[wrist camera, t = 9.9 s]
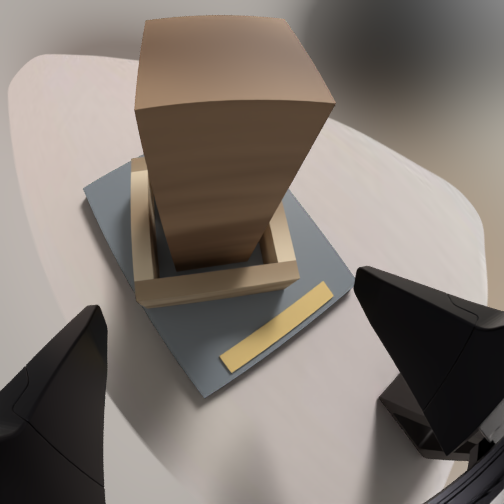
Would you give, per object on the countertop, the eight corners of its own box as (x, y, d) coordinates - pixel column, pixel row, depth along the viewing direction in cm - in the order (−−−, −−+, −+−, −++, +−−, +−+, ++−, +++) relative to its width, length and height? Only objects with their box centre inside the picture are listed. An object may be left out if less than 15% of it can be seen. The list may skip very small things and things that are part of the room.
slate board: (351, 285, 20) (359, 281, 19) (204, 395, 16) (204, 398, 15) (226, 124, 22) (227, 115, 21) (87, 195, 19) (82, 187, 17)
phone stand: (377, 395, 18) (516, 412, 6) (422, 340, 20) (550, 317, 8) (422, 457, 16) (531, 485, 5) (460, 406, 18) (566, 408, 7)
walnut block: (247, 261, 18) (335, 103, 6) (176, 271, 17) (134, 109, 5) (234, 198, 19) (284, 19, 7) (168, 206, 18) (145, 20, 6)
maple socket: (284, 289, 18) (300, 278, 15) (147, 308, 16) (136, 301, 13) (258, 172, 20) (267, 146, 17) (139, 184, 18) (131, 158, 16)
